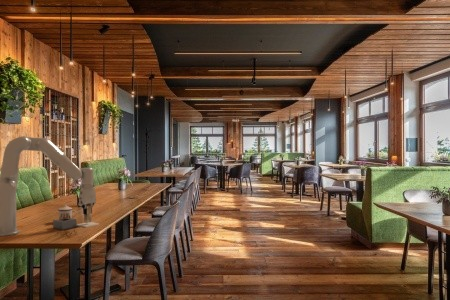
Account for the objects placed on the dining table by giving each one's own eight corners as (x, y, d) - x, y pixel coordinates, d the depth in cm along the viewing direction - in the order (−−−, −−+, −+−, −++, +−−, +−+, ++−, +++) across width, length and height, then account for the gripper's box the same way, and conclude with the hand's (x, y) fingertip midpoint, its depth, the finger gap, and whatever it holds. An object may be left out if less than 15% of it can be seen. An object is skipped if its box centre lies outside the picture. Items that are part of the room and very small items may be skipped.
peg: (87, 223, 234) (86, 204, 233) (82, 222, 236) (82, 204, 236) (93, 221, 238) (92, 203, 238) (88, 221, 240) (88, 203, 240)
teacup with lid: (57, 223, 242) (57, 206, 242) (58, 220, 251) (58, 204, 251) (76, 222, 247) (76, 205, 247) (77, 219, 255) (76, 203, 255)
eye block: (62, 229, 224) (62, 222, 224) (53, 228, 229) (53, 220, 229) (76, 226, 232) (76, 219, 232) (67, 225, 238) (67, 217, 237)
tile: (86, 227, 230) (86, 226, 230) (76, 225, 235) (76, 224, 235) (99, 224, 239) (99, 223, 239) (89, 222, 244) (89, 221, 244)
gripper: (80, 187, 228) (80, 216, 228) (101, 185, 242) (101, 212, 242) (72, 187, 232) (73, 215, 232) (94, 184, 246) (94, 211, 246)
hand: (87, 213), depth 237 cm, fingers closed on peg, 3 cm apart
